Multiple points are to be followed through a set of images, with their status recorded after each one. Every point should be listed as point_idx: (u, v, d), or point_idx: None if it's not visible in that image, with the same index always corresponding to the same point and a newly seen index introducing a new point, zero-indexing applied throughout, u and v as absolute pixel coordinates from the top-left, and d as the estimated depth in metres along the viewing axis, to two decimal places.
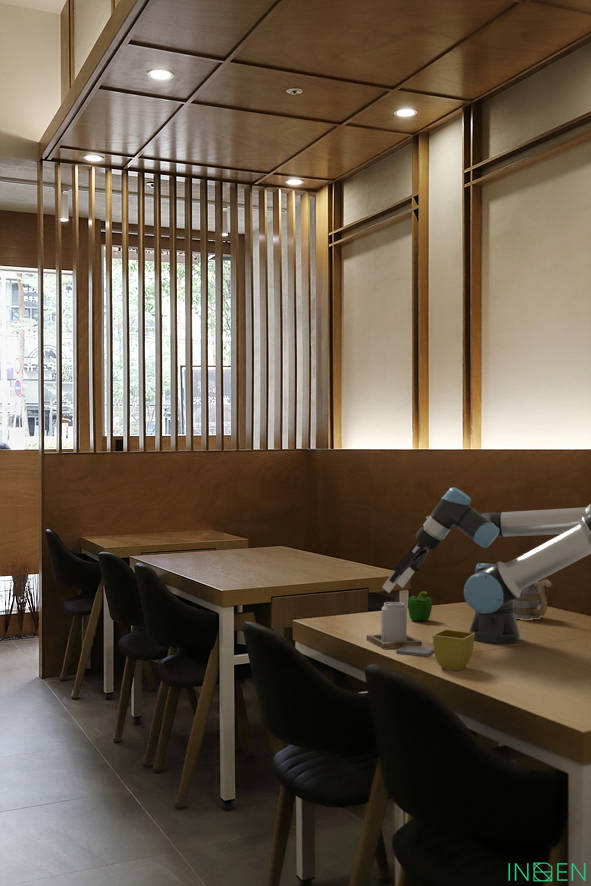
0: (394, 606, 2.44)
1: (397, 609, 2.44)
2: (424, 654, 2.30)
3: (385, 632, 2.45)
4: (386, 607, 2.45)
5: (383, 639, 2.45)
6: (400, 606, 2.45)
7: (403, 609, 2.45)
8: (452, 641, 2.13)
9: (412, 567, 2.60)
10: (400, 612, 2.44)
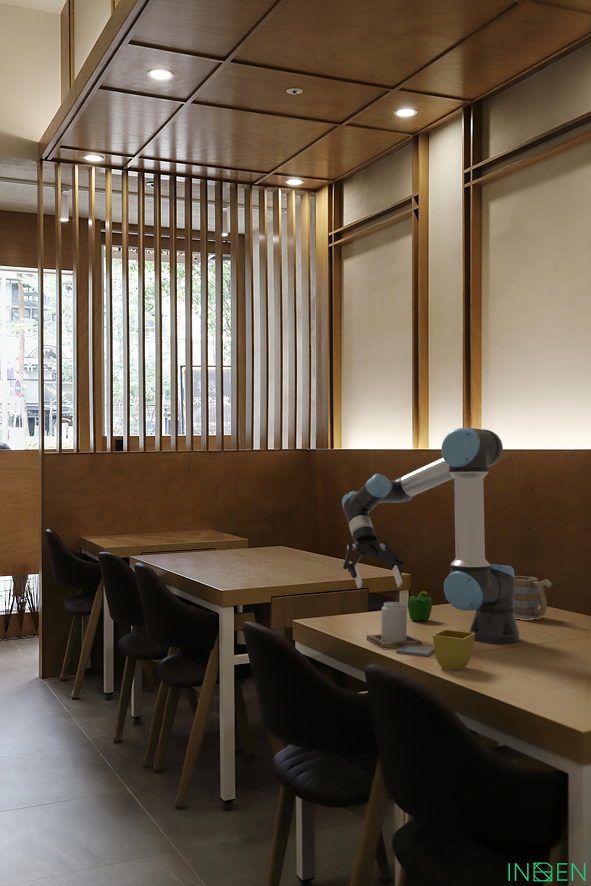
0: (394, 606, 2.44)
1: (397, 609, 2.44)
2: (424, 654, 2.30)
3: (385, 632, 2.45)
4: (386, 607, 2.45)
5: (383, 639, 2.45)
6: (400, 606, 2.45)
7: (403, 609, 2.45)
8: (452, 641, 2.13)
9: None
10: (400, 612, 2.44)
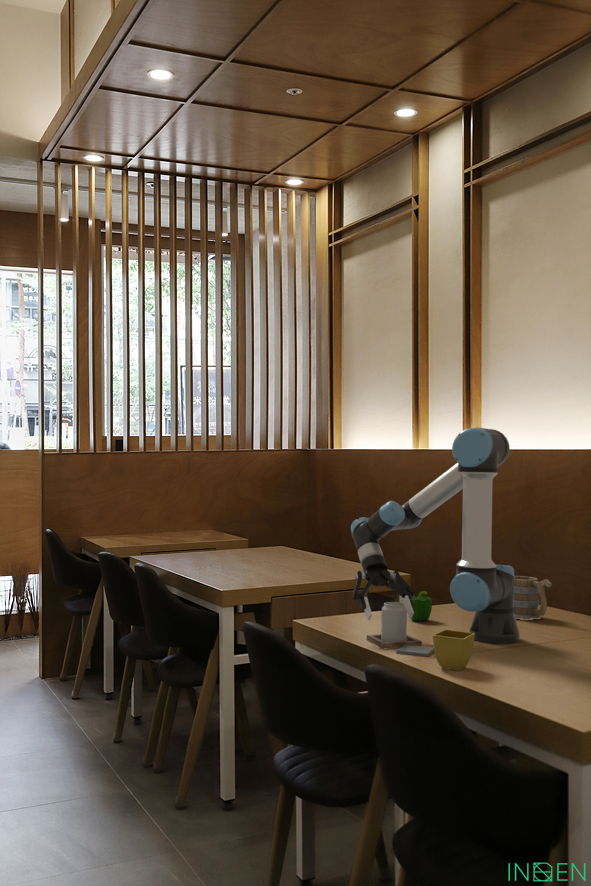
0: (394, 606, 2.44)
1: (397, 609, 2.44)
2: (424, 654, 2.30)
3: (385, 632, 2.45)
4: (386, 607, 2.45)
5: (383, 639, 2.45)
6: (400, 606, 2.45)
7: (403, 609, 2.45)
8: (452, 641, 2.13)
9: None
10: (400, 612, 2.44)
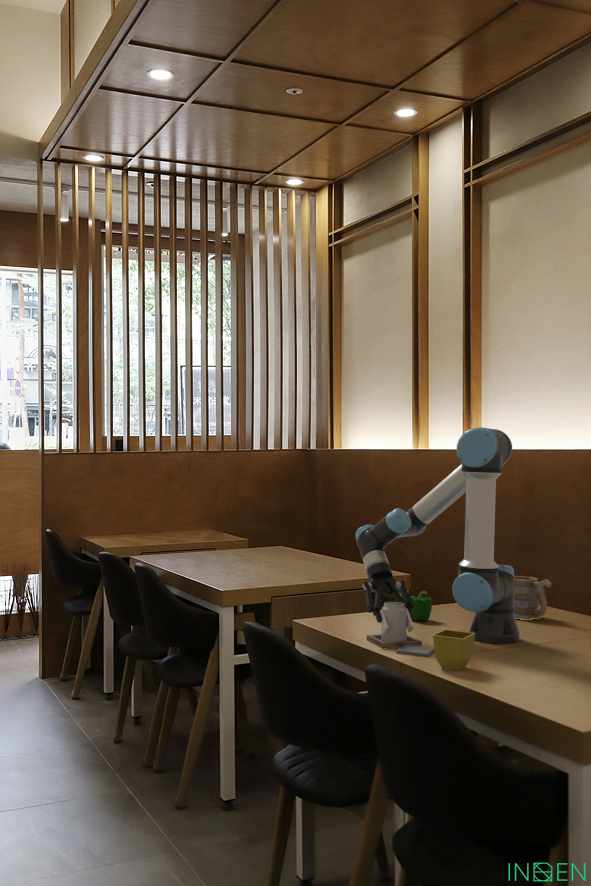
0: (394, 606, 2.44)
1: (397, 609, 2.44)
2: (424, 654, 2.30)
3: None
4: (386, 607, 2.45)
5: (383, 639, 2.45)
6: (400, 606, 2.45)
7: (403, 609, 2.45)
8: (452, 641, 2.13)
9: None
10: (400, 612, 2.44)
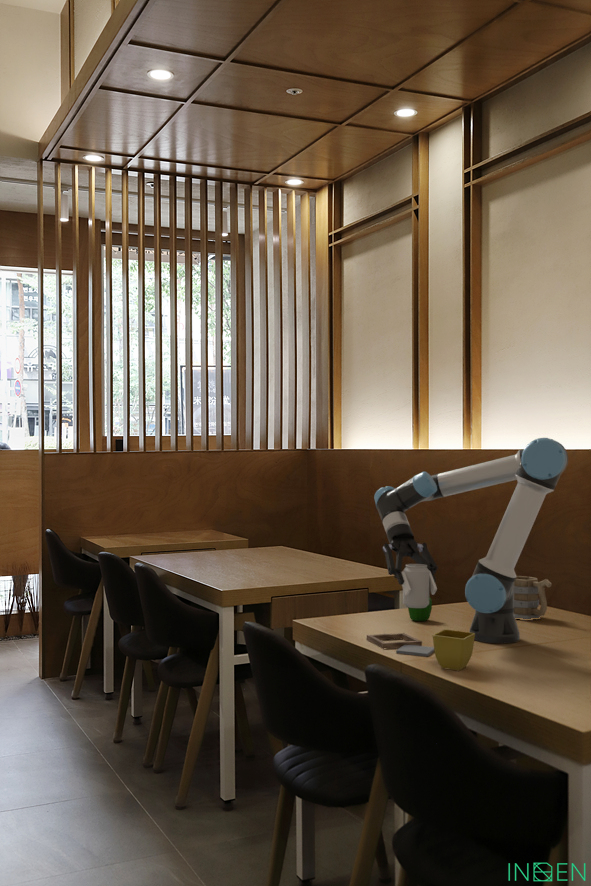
0: (416, 567, 2.34)
1: (420, 570, 2.33)
2: (424, 654, 2.30)
3: None
4: (408, 568, 2.35)
5: (405, 602, 2.35)
6: (423, 567, 2.34)
7: (426, 570, 2.34)
8: (452, 641, 2.13)
9: None
10: (423, 573, 2.33)
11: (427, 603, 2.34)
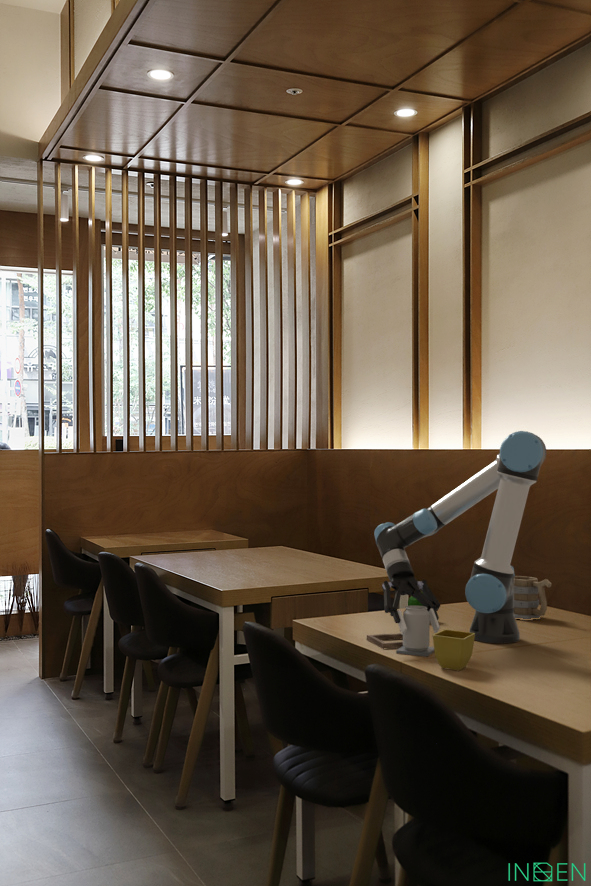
0: (416, 609, 2.33)
1: (420, 613, 2.33)
2: (424, 654, 2.30)
3: (407, 637, 2.34)
4: (408, 611, 2.34)
5: (405, 644, 2.34)
6: (423, 610, 2.34)
7: (426, 613, 2.34)
8: (452, 641, 2.13)
9: None
10: (423, 616, 2.33)
11: (427, 646, 2.34)
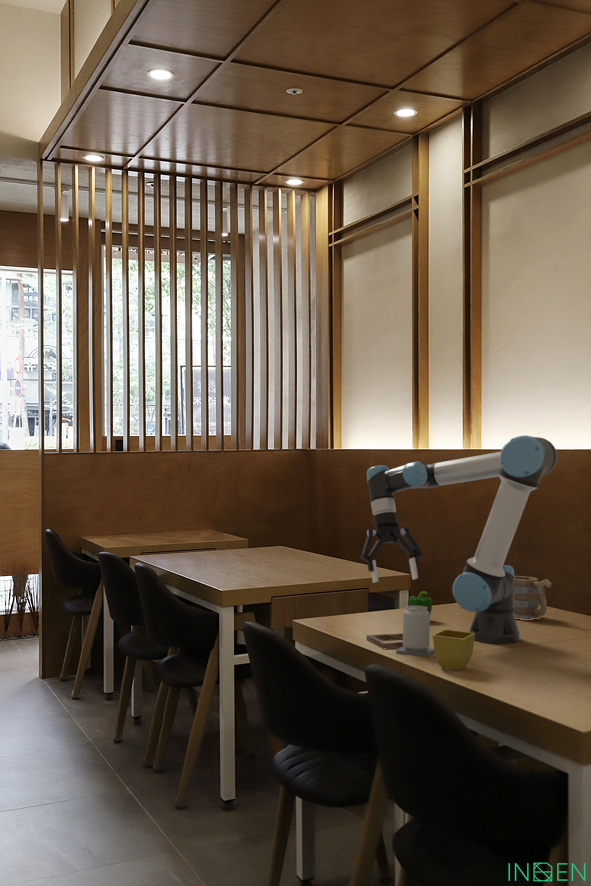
0: (417, 609, 2.33)
1: (420, 613, 2.33)
2: (424, 654, 2.30)
3: (407, 637, 2.34)
4: (408, 611, 2.34)
5: (405, 644, 2.34)
6: (423, 610, 2.34)
7: (426, 613, 2.34)
8: (452, 641, 2.13)
9: (412, 556, 2.60)
10: (423, 616, 2.33)
11: (427, 646, 2.34)
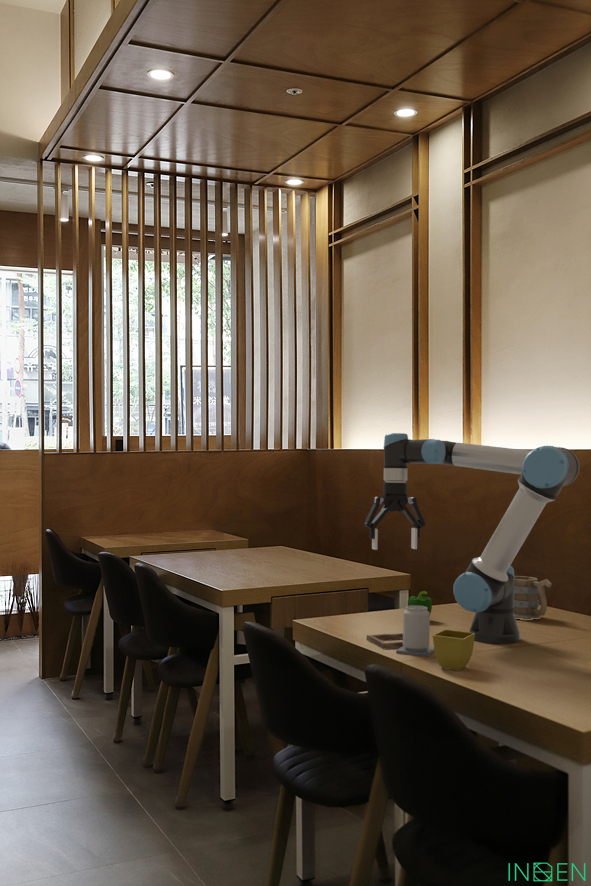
0: (417, 609, 2.33)
1: (420, 613, 2.33)
2: (424, 654, 2.30)
3: (407, 637, 2.34)
4: (408, 611, 2.34)
5: (405, 644, 2.34)
6: (423, 610, 2.34)
7: (426, 613, 2.34)
8: (452, 641, 2.13)
9: (415, 526, 2.63)
10: (423, 616, 2.33)
11: (427, 646, 2.34)
